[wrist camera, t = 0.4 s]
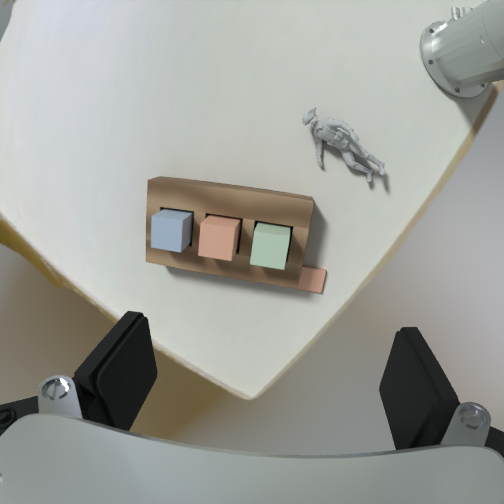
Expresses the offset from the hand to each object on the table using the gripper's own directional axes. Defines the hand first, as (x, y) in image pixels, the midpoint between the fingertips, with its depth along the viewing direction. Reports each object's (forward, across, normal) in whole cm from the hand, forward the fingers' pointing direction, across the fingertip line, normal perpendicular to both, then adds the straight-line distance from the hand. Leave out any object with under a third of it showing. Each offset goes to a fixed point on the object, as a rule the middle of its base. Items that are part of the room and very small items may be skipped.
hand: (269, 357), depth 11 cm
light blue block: (+32, +14, +3) cm, 35 cm away
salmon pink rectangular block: (+32, +8, +4) cm, 33 cm away
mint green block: (+32, +1, +5) cm, 32 cm away
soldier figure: (+34, -8, -8) cm, 35 cm away
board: (+34, +8, +4) cm, 35 cm away
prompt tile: (+34, -5, +11) cm, 36 cm away
